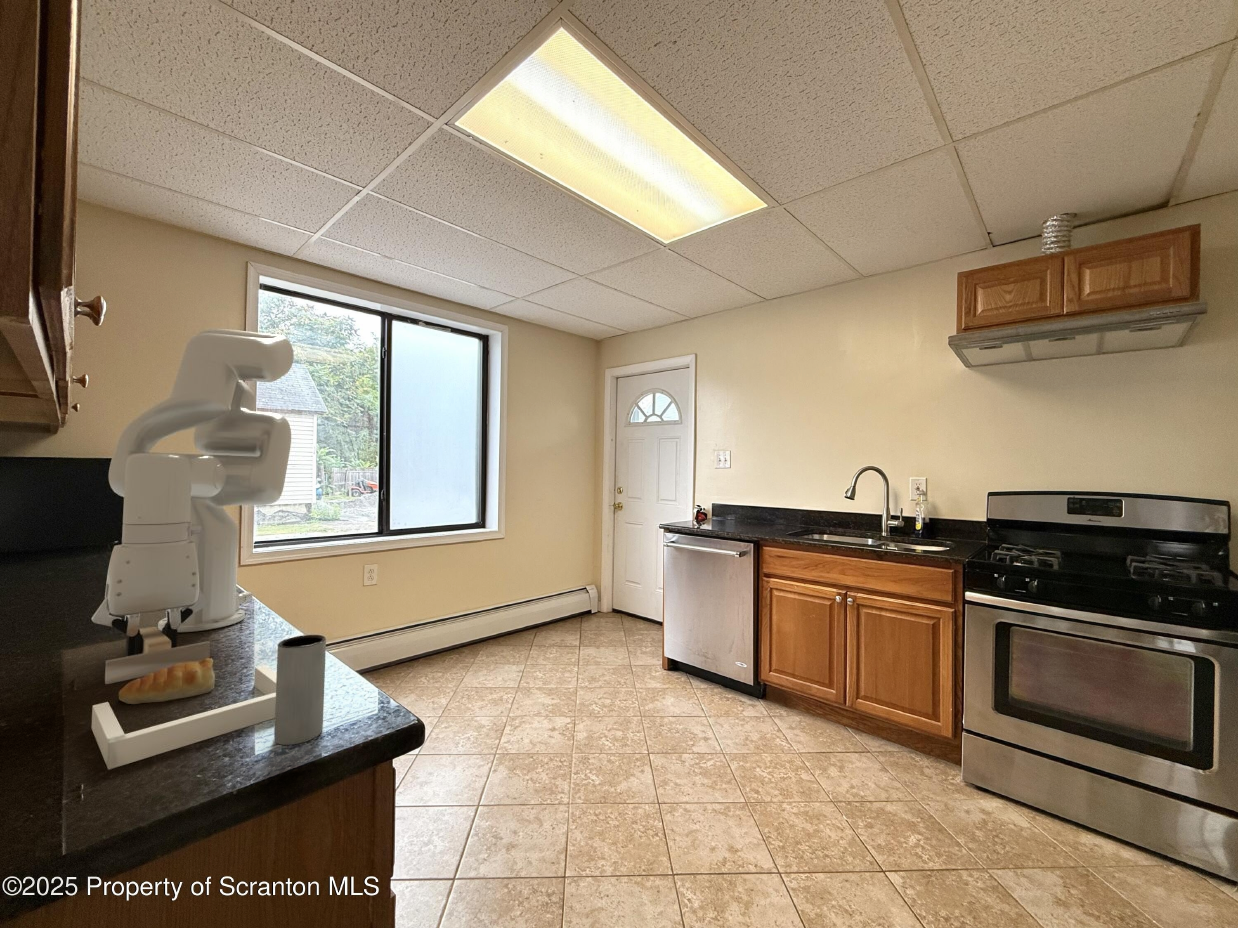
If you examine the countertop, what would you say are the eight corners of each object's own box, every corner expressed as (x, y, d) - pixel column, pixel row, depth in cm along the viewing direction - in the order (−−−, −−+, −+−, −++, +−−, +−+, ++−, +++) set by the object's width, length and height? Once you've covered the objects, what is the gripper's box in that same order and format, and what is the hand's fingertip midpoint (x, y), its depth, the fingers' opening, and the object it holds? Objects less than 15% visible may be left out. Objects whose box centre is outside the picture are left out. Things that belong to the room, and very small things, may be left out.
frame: (91, 728, 56) (92, 705, 56) (264, 683, 69) (265, 664, 69) (108, 769, 49) (109, 743, 49) (299, 710, 61) (299, 689, 61)
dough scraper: (93, 662, 75) (95, 635, 75) (189, 644, 84) (190, 620, 84) (105, 684, 68) (107, 654, 68) (209, 662, 76) (210, 635, 76)
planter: (266, 737, 55) (270, 641, 55) (310, 720, 59) (313, 631, 59) (285, 750, 53) (289, 650, 53) (330, 732, 56) (334, 639, 57)
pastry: (116, 714, 60) (117, 682, 60) (120, 695, 65) (121, 665, 65) (217, 693, 66) (218, 663, 66) (213, 677, 71) (214, 650, 71)
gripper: (216, 529, 85) (212, 639, 85) (75, 536, 72) (69, 666, 72) (230, 533, 80) (225, 649, 80) (81, 541, 68) (74, 680, 67)
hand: (151, 656), depth 76 cm, fingers open, 2 cm apart
